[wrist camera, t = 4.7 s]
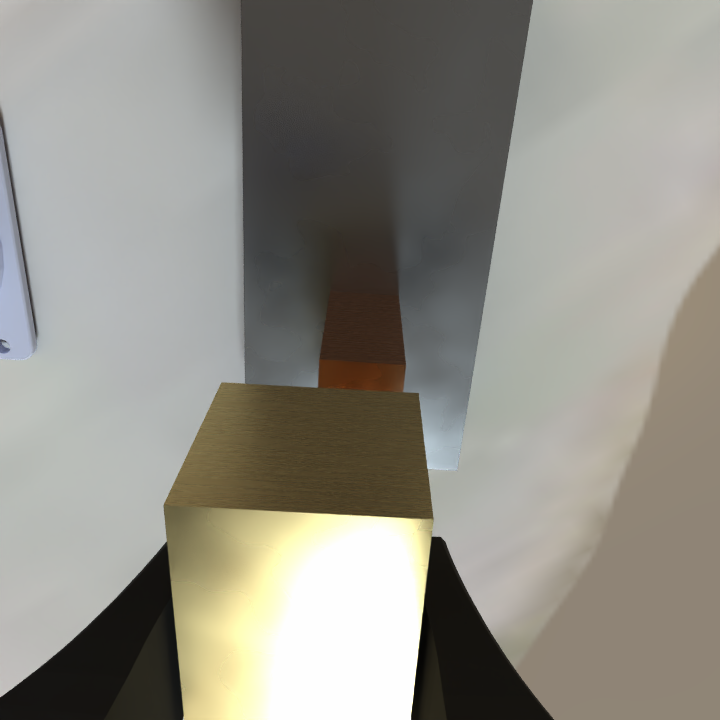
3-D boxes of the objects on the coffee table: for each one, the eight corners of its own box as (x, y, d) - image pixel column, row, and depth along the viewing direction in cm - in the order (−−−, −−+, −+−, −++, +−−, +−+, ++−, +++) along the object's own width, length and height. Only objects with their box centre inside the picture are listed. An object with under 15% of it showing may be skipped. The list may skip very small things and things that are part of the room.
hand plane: (257, 417, 24) (217, 552, 18) (256, -593, 13) (155, -1138, 7) (449, 430, 24) (476, 569, 18) (597, -562, 14) (791, -1071, 7)
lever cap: (231, 604, 16) (188, 766, 12) (221, 382, 13) (163, 505, 10) (397, 613, 16) (403, 778, 12) (418, 393, 13) (433, 519, 10)
